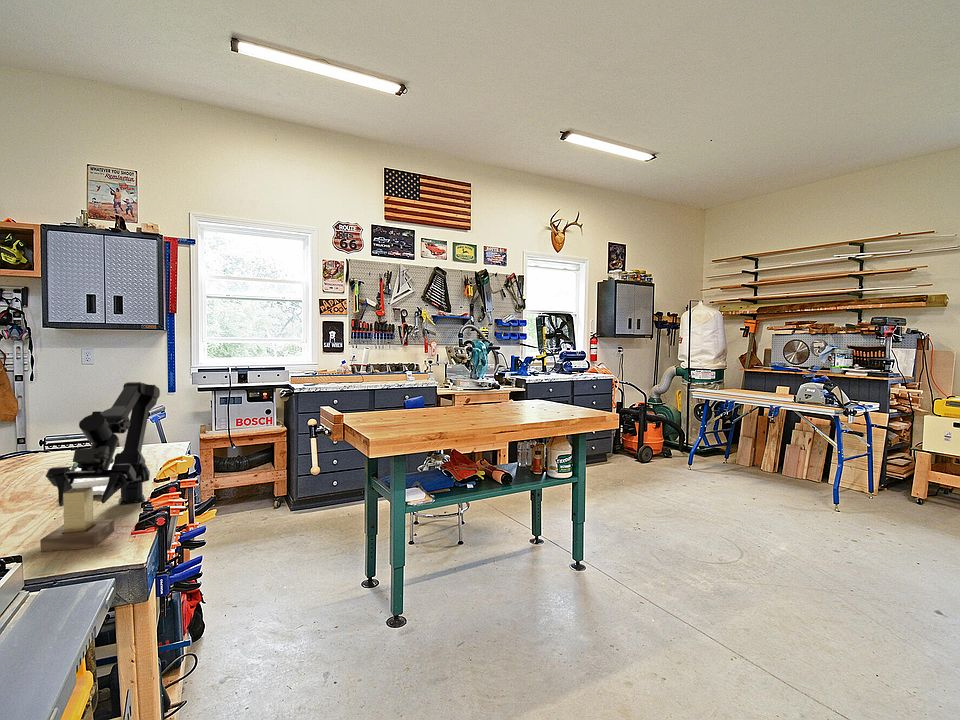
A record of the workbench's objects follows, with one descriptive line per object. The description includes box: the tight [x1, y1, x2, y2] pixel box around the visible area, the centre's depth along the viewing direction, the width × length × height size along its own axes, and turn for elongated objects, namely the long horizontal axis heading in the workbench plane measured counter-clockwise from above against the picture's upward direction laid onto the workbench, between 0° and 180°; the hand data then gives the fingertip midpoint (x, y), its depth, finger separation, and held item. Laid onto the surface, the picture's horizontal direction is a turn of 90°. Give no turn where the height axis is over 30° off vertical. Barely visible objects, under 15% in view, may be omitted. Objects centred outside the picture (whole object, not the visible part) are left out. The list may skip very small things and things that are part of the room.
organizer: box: [71, 462, 114, 496], centre depth 170 cm, size 13×5×35 cm
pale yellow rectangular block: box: [63, 487, 95, 534], centre depth 125 cm, size 4×4×13 cm
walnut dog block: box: [39, 519, 115, 552], centre depth 125 cm, size 11×11×3 cm
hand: (81, 503), depth 126 cm, fingers open, 9 cm apart
